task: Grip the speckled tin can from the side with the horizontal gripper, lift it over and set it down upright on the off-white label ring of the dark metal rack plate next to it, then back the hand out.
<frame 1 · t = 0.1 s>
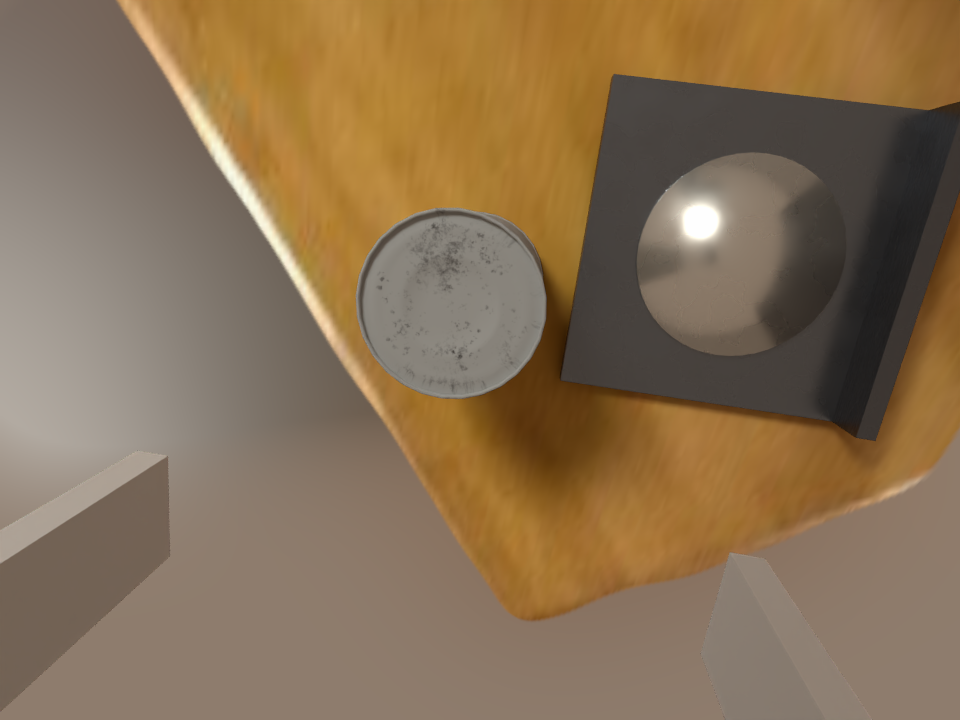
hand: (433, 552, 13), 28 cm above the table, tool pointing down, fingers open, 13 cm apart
speckled tin can: (475, 281, 39), on the table
rack plate: (732, 257, 37), on the table
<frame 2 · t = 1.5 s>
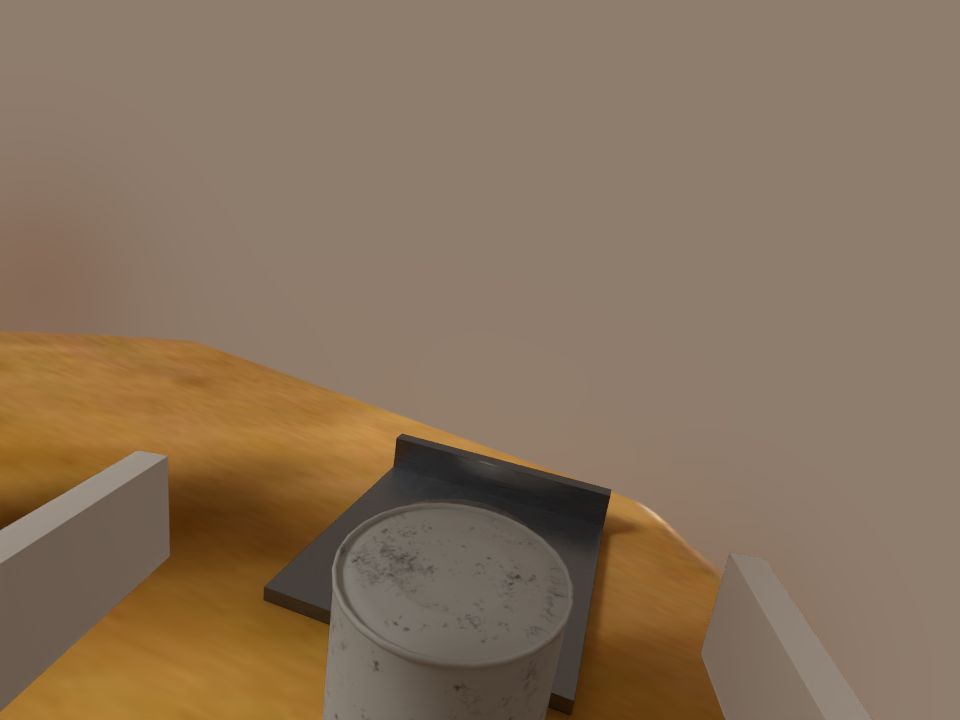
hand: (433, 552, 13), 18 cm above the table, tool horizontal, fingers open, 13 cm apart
rack plate: (460, 558, 42), on the table
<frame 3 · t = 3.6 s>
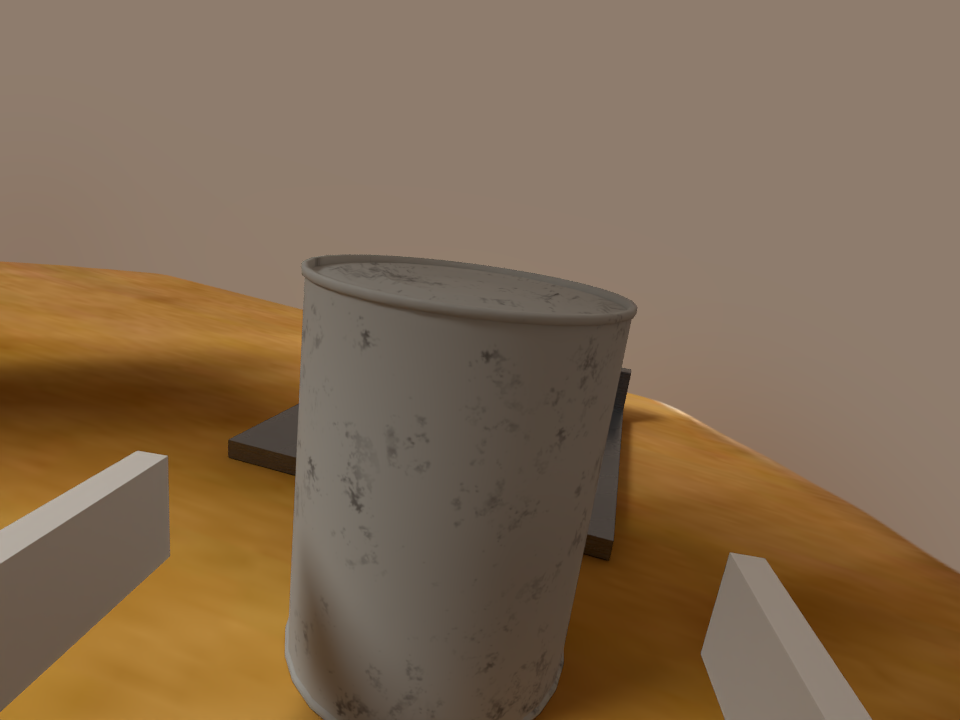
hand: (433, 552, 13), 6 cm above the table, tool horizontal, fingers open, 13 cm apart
speckled tin can: (427, 631, 19), on the table
rack plate: (463, 433, 36), on the table
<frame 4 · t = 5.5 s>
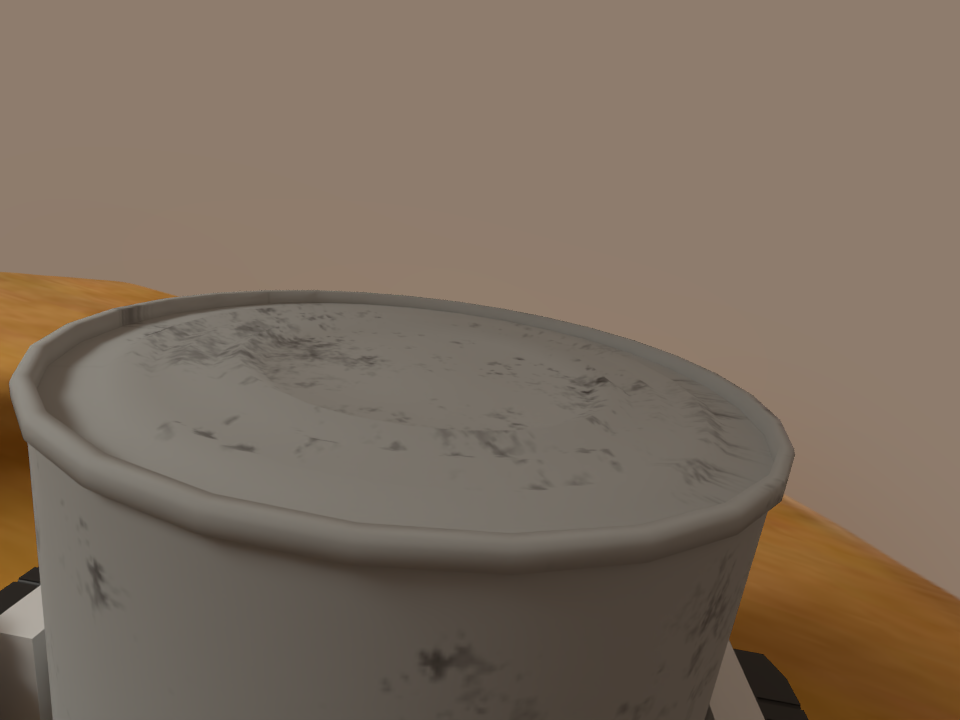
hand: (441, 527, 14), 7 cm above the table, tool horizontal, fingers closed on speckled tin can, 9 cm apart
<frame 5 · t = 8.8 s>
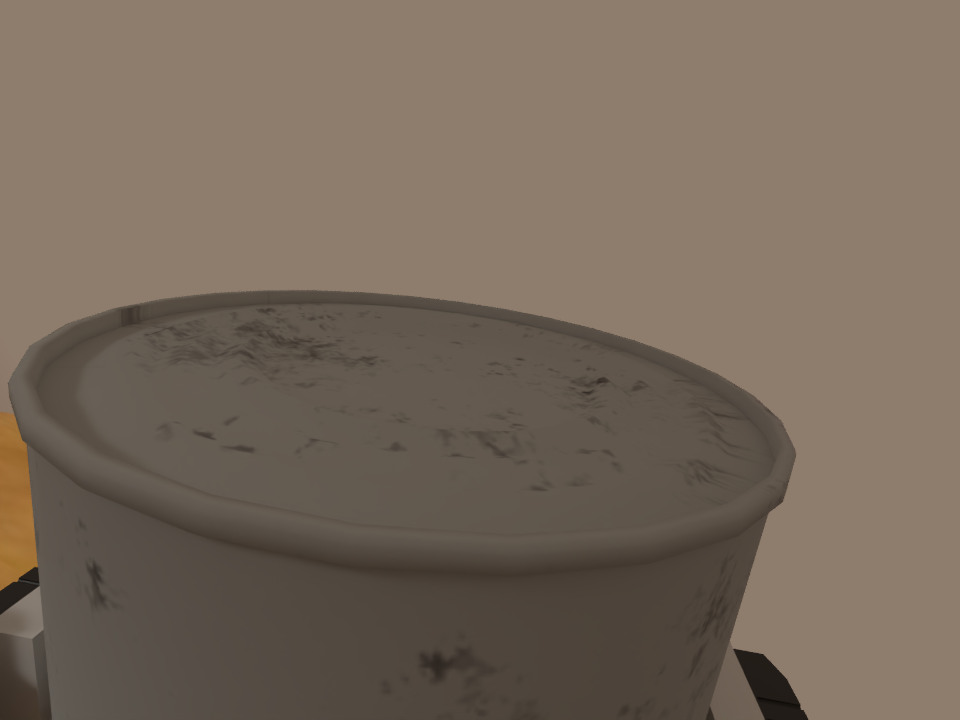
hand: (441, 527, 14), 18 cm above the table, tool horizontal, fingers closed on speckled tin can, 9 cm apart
when the fingers open (9 cm above the table, at t = 12.1 s): speckled tin can stays where it is, resting on rack plate.
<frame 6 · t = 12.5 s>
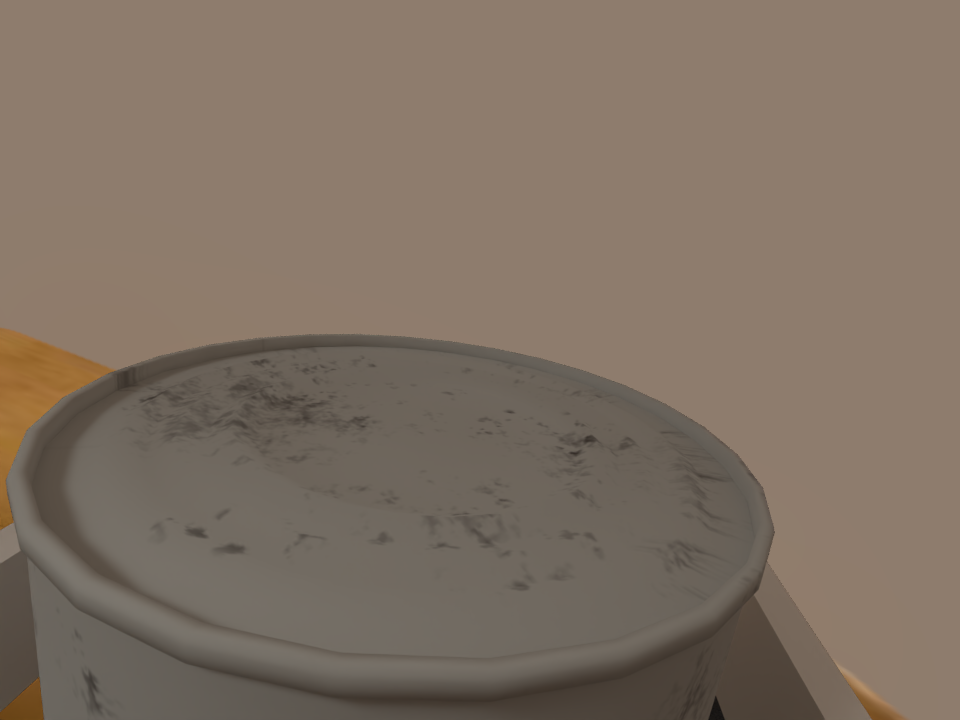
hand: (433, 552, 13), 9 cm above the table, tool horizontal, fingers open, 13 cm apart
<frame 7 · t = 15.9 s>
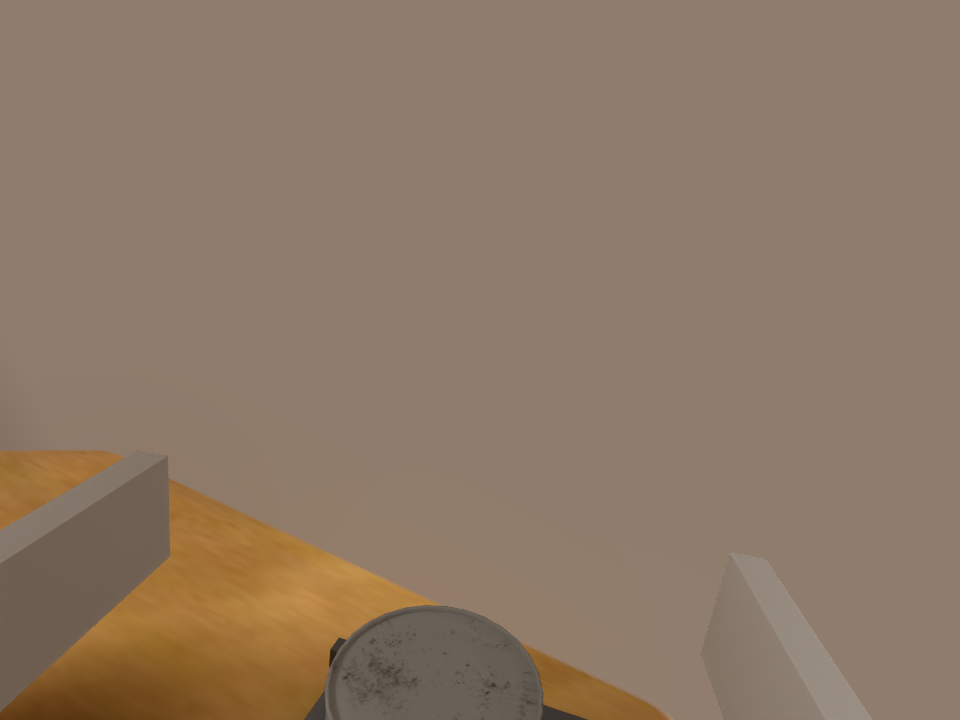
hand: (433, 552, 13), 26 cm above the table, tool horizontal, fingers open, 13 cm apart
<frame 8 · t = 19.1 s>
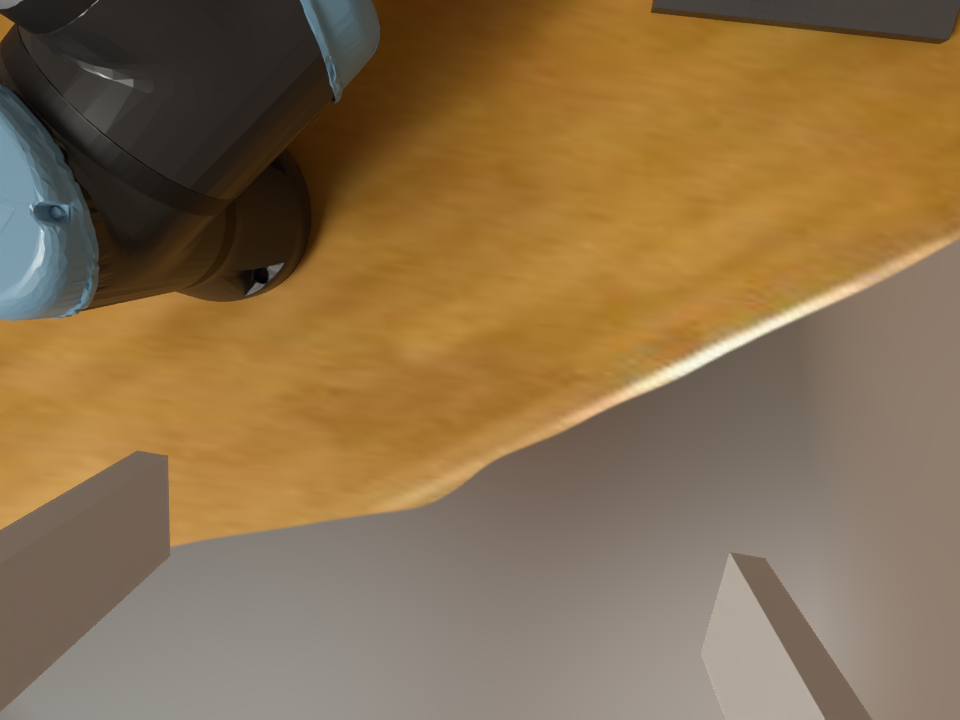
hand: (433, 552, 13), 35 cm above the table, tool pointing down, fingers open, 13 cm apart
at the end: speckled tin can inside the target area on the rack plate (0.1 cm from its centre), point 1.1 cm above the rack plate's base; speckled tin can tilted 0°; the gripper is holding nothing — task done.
